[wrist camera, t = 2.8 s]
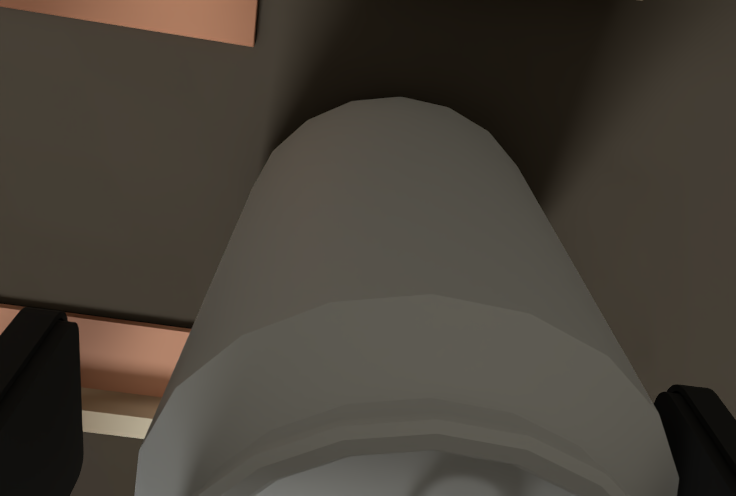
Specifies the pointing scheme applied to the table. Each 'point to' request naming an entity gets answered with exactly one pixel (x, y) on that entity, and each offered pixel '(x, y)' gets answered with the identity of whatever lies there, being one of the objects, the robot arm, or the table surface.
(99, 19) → the tan bent flat bar
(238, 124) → the table surface
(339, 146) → the can
